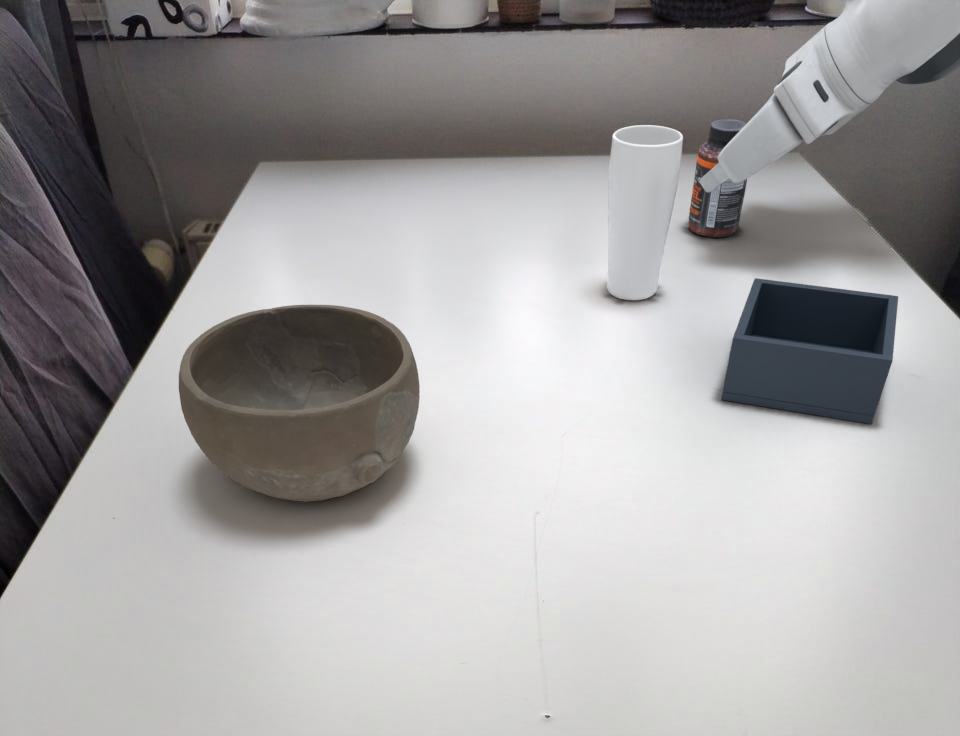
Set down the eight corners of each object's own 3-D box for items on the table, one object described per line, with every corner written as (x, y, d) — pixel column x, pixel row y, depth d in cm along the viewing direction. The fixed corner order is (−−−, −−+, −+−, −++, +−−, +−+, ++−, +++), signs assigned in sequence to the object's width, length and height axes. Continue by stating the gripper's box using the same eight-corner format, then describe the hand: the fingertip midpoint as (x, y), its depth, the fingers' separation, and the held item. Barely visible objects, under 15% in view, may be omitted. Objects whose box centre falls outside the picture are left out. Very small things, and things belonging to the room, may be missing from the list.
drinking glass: (646, 274, 97) (664, 121, 87) (675, 299, 93) (697, 140, 82) (589, 284, 96) (600, 129, 85) (615, 309, 91) (630, 149, 81)
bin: (742, 337, 87) (754, 277, 82) (879, 356, 83) (898, 295, 79) (721, 400, 78) (732, 337, 74) (871, 424, 75) (892, 360, 71)
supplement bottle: (681, 221, 108) (695, 117, 100) (729, 218, 108) (746, 114, 101) (694, 240, 104) (710, 133, 96) (744, 237, 104) (764, 130, 96)
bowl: (437, 517, 67) (429, 396, 60) (196, 545, 65) (159, 424, 58) (412, 401, 79) (403, 290, 72) (208, 422, 77) (178, 310, 70)
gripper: (830, 37, 98) (727, 125, 108) (782, 81, 85) (670, 177, 95) (860, 88, 99) (756, 170, 109) (817, 139, 87) (704, 227, 97)
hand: (715, 174), depth 102 cm, fingers open, 7 cm apart
